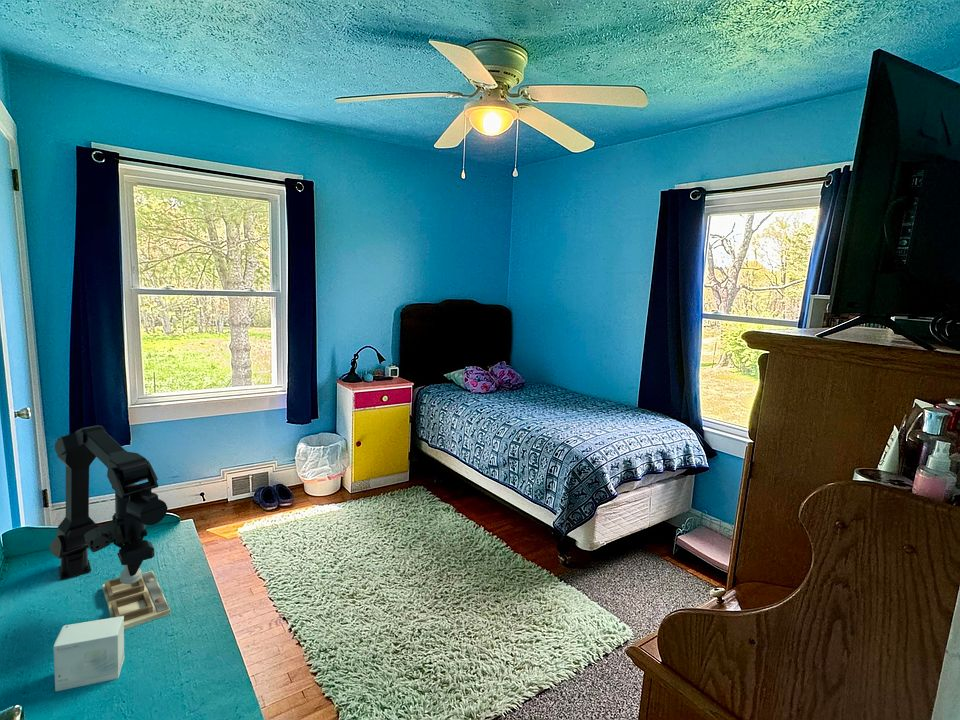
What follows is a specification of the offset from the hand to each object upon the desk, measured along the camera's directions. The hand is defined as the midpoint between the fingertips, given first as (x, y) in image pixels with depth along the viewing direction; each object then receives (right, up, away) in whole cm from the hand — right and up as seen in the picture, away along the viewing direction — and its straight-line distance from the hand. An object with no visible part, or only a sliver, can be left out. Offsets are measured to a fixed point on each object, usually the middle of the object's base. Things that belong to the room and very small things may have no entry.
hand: (131, 571), depth 119 cm
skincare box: (+3, -15, -16) cm, 22 cm away
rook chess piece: (0, -2, 0) cm, 2 cm away
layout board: (-3, -10, +6) cm, 13 cm away
